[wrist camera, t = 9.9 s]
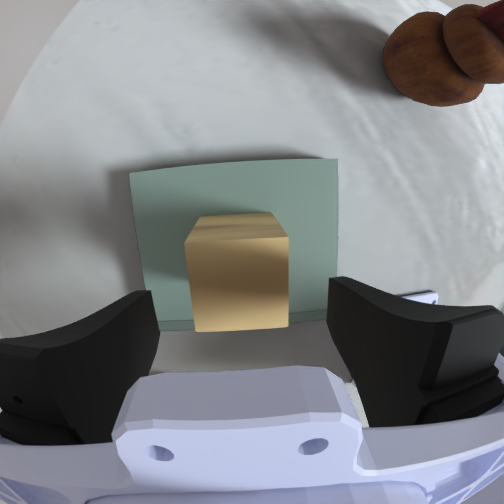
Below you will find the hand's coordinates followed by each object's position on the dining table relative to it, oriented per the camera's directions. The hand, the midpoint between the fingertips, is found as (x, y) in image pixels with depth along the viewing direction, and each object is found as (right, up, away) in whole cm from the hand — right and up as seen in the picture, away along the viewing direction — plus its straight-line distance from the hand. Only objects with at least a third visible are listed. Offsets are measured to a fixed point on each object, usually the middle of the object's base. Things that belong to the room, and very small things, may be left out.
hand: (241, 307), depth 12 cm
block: (-1, +2, +7) cm, 8 cm away
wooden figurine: (+13, +17, +7) cm, 22 cm away
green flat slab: (-1, +3, +10) cm, 11 cm away
